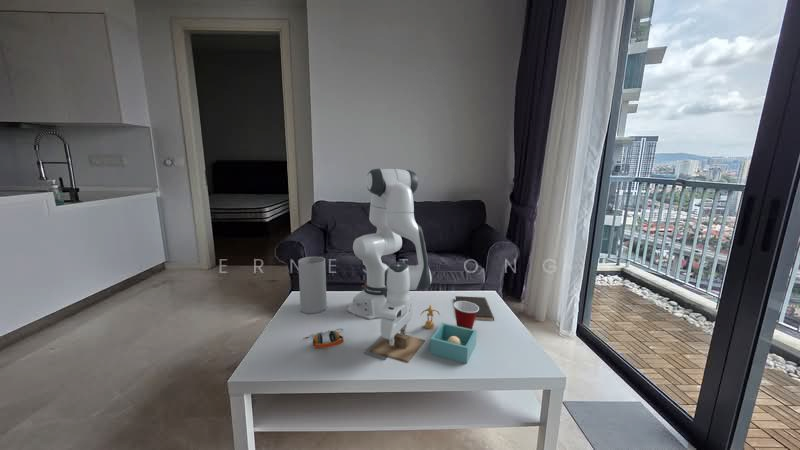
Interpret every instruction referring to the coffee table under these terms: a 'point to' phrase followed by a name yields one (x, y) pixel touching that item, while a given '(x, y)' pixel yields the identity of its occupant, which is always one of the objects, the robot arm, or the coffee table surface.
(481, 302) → the hardcover book
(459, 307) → the plastic cup
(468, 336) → the open box
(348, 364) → the coffee table surface
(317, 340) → the headphones
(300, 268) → the cylinder vase
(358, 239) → the robot arm
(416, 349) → the lid
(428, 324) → the figurine
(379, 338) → the mat
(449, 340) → the ball
